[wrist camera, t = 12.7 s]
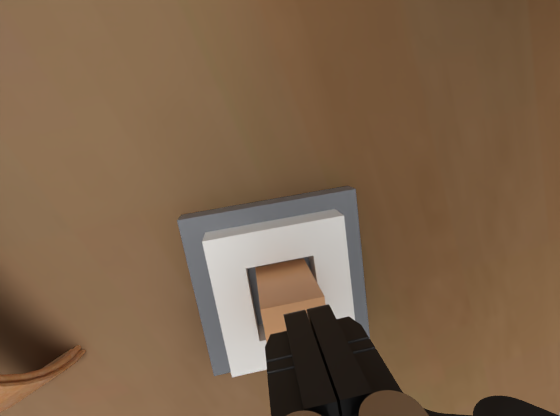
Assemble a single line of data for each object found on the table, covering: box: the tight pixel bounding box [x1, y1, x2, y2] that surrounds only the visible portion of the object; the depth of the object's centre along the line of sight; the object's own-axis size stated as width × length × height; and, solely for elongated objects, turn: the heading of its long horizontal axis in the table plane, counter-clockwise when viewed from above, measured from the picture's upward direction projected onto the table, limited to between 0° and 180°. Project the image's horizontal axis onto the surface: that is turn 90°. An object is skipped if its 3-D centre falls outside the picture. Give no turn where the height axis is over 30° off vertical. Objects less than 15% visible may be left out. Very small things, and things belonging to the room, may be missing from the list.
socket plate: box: [177, 186, 370, 377], centre depth 29 cm, size 16×16×4 cm
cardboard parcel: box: [255, 258, 326, 342], centre depth 25 cm, size 4×6×8 cm
